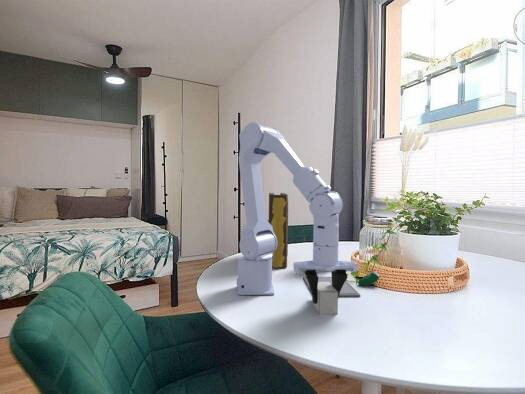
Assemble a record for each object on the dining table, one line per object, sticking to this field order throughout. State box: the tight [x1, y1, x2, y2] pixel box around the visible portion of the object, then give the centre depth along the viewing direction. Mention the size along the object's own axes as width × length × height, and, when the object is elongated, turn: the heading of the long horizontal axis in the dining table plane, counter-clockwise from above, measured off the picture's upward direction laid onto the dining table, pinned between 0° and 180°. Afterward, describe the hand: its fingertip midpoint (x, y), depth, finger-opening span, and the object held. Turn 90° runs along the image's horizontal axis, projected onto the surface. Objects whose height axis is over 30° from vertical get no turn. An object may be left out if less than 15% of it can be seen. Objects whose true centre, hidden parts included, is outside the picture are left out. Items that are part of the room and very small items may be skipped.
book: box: [267, 192, 289, 270], centre depth 112 cm, size 22×8×25 cm, turn 179°
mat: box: [302, 276, 361, 298], centre depth 84 cm, size 12×15×1 cm
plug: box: [312, 282, 339, 316], centre depth 71 cm, size 4×9×5 cm, turn 3°
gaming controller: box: [357, 270, 380, 287], centre depth 89 cm, size 9×4×6 cm
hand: (324, 301), depth 70 cm, fingers closed on plug, 4 cm apart
